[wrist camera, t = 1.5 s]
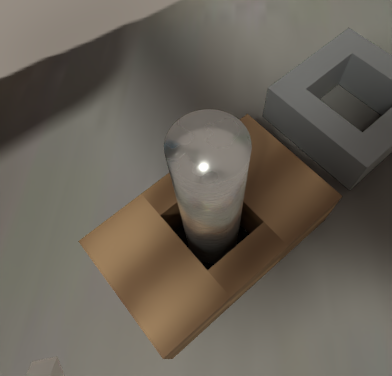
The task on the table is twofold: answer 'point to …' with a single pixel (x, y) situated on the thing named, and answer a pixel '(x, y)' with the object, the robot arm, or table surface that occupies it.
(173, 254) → the tan hollow box
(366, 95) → the socket
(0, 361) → the table surface
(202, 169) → the translucent white cylinder
